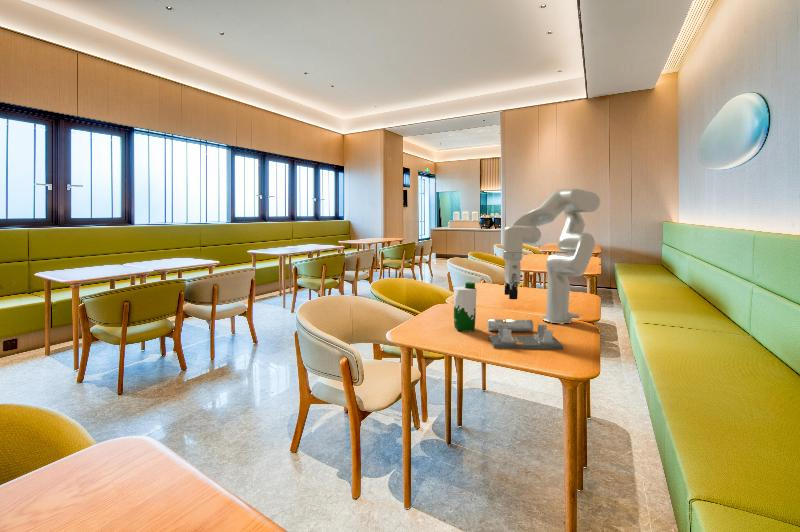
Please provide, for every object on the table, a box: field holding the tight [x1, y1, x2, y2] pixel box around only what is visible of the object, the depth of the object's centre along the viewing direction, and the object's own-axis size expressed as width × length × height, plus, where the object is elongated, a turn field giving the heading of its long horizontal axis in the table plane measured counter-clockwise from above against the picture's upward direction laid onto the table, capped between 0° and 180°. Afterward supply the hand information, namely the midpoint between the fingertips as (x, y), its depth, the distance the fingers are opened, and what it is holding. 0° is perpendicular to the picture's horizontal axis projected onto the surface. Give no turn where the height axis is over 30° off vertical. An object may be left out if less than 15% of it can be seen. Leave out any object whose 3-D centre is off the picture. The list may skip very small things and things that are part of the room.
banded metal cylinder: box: [487, 318, 534, 333], centre depth 172 cm, size 18×5×5 cm, turn 86°
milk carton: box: [453, 281, 477, 332], centre depth 174 cm, size 9×9×20 cm
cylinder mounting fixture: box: [488, 323, 564, 351], centre depth 155 cm, size 25×12×6 cm, turn 86°
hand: (510, 296), depth 170 cm, fingers open, 9 cm apart
